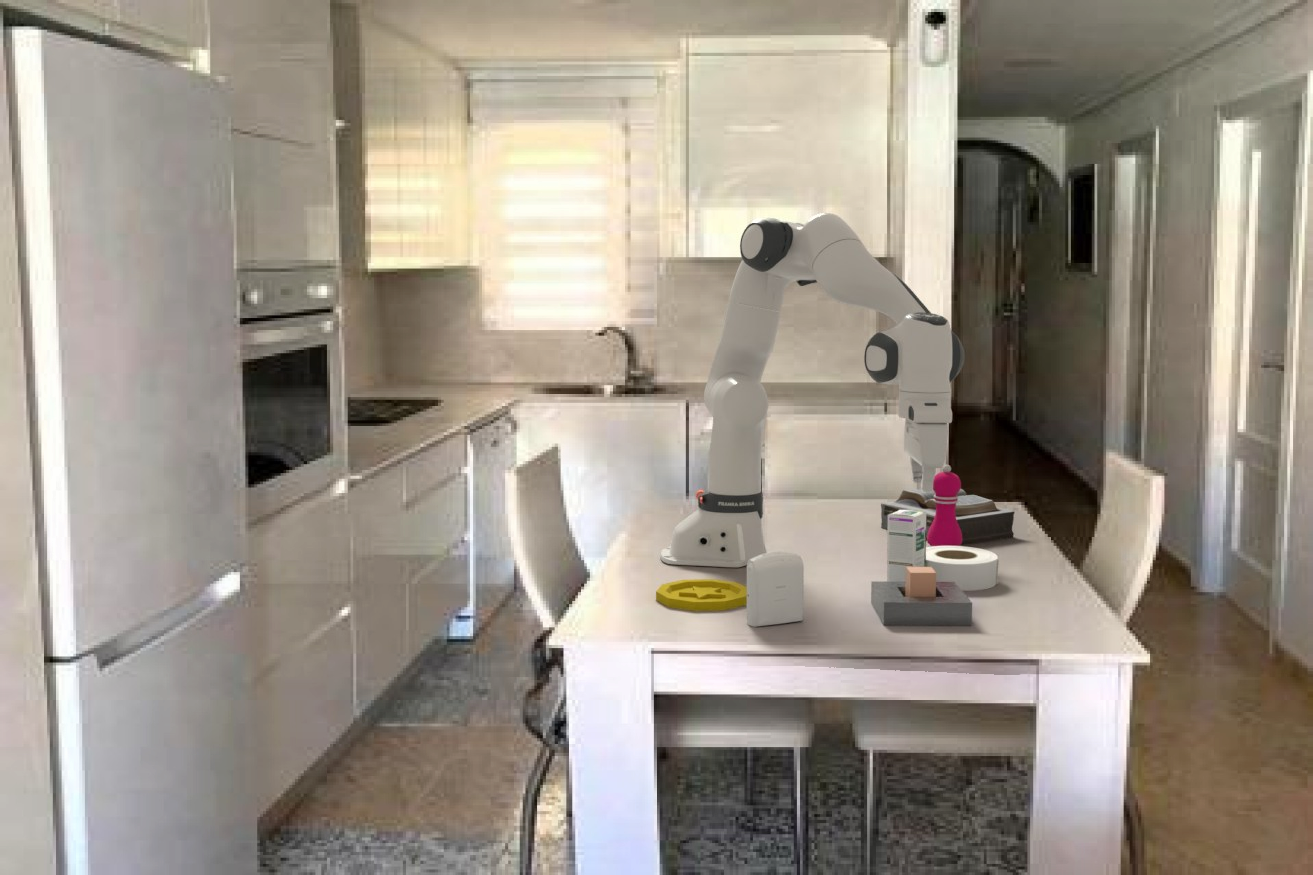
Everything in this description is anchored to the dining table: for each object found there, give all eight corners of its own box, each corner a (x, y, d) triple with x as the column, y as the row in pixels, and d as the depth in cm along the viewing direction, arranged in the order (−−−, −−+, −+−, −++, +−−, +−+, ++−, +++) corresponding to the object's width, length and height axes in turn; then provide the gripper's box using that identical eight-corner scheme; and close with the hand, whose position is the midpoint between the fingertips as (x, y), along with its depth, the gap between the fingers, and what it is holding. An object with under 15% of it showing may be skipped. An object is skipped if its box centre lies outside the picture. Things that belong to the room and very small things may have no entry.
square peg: (909, 617, 232) (910, 572, 231) (904, 610, 236) (906, 566, 235) (935, 617, 232) (936, 572, 231) (930, 610, 236) (931, 566, 235)
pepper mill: (962, 563, 273) (965, 467, 271) (926, 562, 275) (929, 466, 272) (961, 556, 280) (964, 462, 278) (926, 554, 282) (929, 461, 279)
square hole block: (883, 625, 227) (884, 602, 226) (870, 602, 242) (871, 581, 241) (971, 625, 226) (972, 602, 226) (953, 603, 241) (954, 581, 241)
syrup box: (914, 591, 250) (916, 516, 248) (885, 587, 253) (887, 512, 251) (925, 585, 255) (927, 511, 253) (897, 581, 258) (898, 508, 256)
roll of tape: (999, 593, 250) (1000, 564, 249) (914, 589, 253) (915, 560, 252) (995, 574, 265) (996, 547, 264) (914, 570, 268) (915, 543, 267)
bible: (957, 520, 321) (959, 480, 320) (1024, 542, 296) (1025, 498, 295) (872, 526, 314) (873, 485, 312) (933, 549, 288) (934, 505, 287)
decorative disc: (683, 585, 256) (684, 575, 256) (766, 596, 247) (766, 586, 247) (639, 604, 242) (639, 593, 242) (724, 617, 233) (724, 606, 233)
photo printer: (753, 628, 225) (754, 557, 223) (742, 622, 229) (743, 552, 227) (807, 622, 229) (808, 552, 227) (795, 616, 232) (796, 547, 231)
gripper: (896, 401, 239) (894, 476, 241) (916, 413, 219) (913, 496, 221) (931, 401, 239) (929, 477, 241) (954, 414, 219) (951, 496, 221)
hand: (922, 486), depth 231 cm, fingers open, 8 cm apart
